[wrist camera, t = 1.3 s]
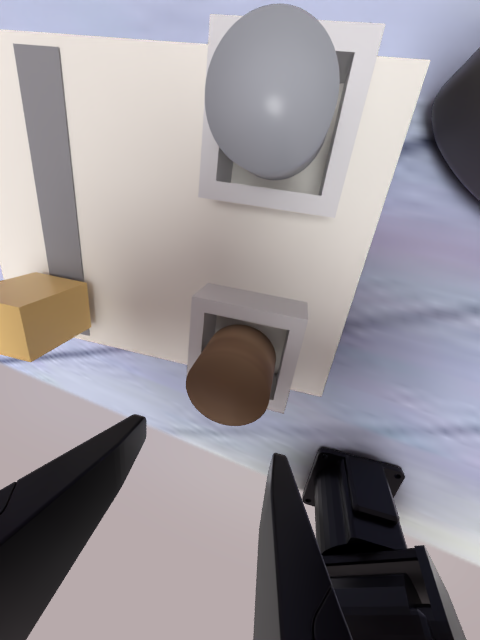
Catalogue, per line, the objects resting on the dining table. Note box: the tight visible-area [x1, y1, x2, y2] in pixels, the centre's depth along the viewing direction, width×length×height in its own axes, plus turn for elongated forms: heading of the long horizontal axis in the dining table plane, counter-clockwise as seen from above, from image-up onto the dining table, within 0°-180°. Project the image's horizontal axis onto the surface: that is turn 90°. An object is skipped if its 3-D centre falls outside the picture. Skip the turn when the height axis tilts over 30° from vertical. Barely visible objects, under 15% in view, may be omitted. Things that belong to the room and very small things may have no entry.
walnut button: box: [186, 324, 276, 426], centre depth 13 cm, size 4×4×3 cm
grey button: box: [205, 4, 340, 180], centre depth 9 cm, size 4×4×3 cm
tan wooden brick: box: [0, 272, 91, 362], centre depth 15 cm, size 3×4×4 cm
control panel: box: [0, 14, 430, 414], centre depth 15 cm, size 16×22×6 cm
